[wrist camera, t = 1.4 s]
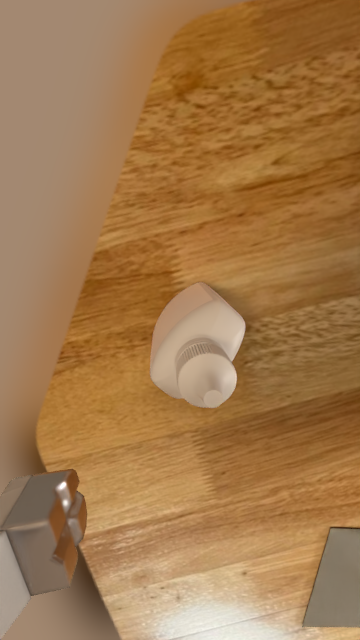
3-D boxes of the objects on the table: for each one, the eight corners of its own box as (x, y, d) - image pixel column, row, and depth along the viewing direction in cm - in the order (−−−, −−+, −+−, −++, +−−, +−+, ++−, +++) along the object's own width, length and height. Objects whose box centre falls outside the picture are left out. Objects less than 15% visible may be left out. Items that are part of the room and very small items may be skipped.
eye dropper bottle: (139, 303, 22) (113, 373, 10) (212, 275, 21) (271, 314, 10) (161, 355, 23) (161, 473, 11) (230, 330, 23) (304, 422, 11)
